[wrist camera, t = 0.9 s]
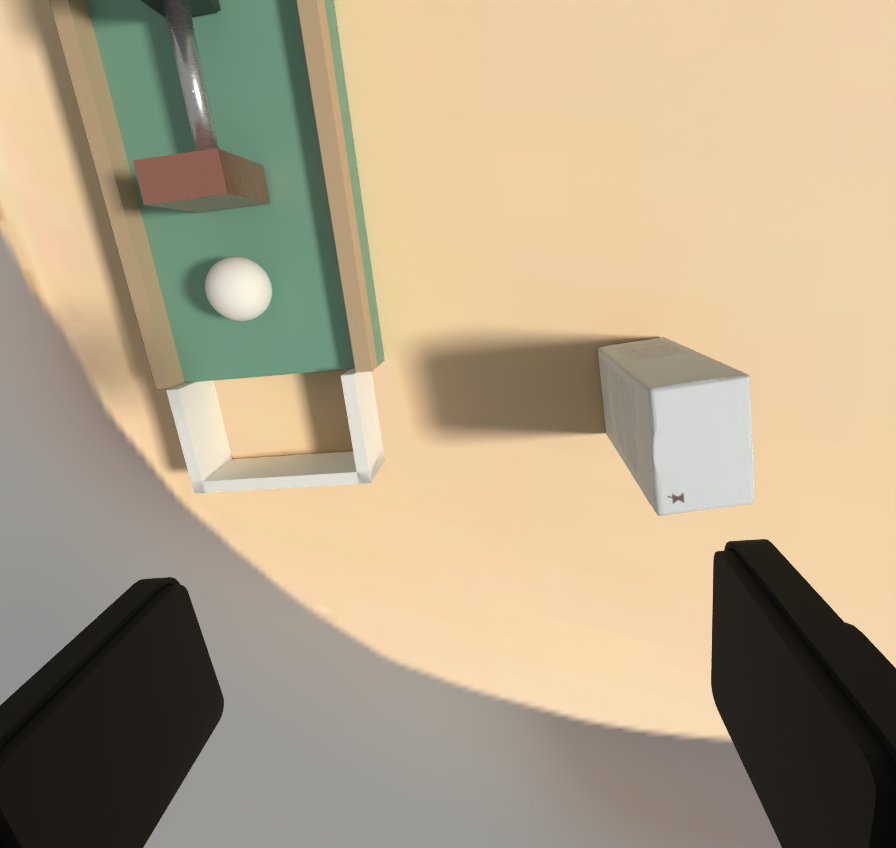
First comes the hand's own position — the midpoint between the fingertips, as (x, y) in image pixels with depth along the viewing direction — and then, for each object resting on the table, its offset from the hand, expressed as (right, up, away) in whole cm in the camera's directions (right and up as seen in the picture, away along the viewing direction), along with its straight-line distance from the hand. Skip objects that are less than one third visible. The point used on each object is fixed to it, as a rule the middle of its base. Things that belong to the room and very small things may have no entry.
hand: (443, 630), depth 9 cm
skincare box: (+12, +6, +25) cm, 28 cm away
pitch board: (-12, +19, +23) cm, 32 cm away
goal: (-11, +4, +27) cm, 30 cm away
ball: (-12, +11, +21) cm, 27 cm away
